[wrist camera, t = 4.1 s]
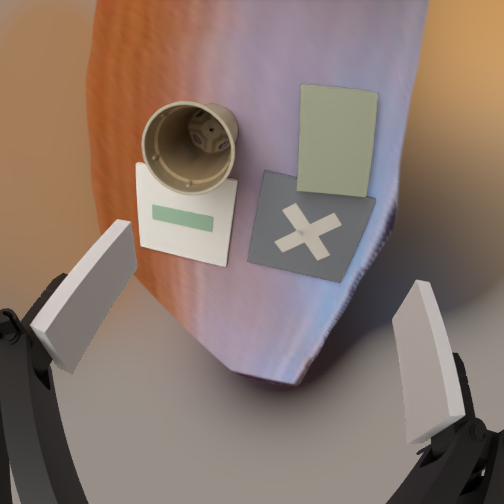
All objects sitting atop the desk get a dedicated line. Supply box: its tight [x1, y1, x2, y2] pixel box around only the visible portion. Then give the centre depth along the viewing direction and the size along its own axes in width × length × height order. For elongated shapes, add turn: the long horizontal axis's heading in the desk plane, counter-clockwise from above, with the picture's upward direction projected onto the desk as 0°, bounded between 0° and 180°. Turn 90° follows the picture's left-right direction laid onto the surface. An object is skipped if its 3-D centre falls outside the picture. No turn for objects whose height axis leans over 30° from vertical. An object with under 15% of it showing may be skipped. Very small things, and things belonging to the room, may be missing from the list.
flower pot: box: [142, 101, 238, 195], centre depth 29 cm, size 9×9×9 cm
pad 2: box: [247, 170, 376, 283], centre depth 39 cm, size 14×14×1 cm
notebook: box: [297, 84, 378, 197], centre depth 30 cm, size 12×8×2 cm, turn 1°
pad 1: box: [136, 162, 238, 267], centre depth 41 cm, size 14×14×1 cm
